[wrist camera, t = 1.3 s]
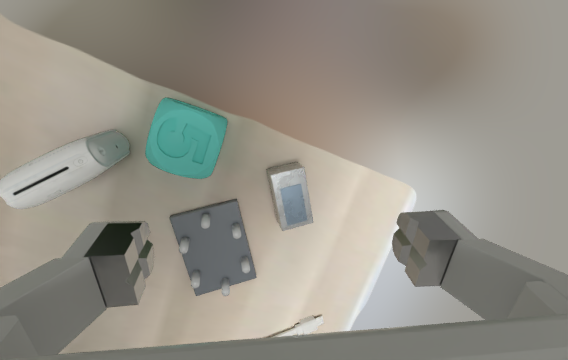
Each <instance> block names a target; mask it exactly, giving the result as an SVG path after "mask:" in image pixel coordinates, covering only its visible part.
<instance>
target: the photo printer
mask: <svg viewBox="0 0 568 360" xmlns="http://www.w3.org/2000/svg"><path fill="white" fill-rule="evenodd" d="M129 153H130V151H129V142H128V140H127V139H126V137H125V136H124V135H122V134H121V133H119V132H116V130H108V131H105V132H101V133H98V134H95V135H91V136H88V137H85V138H82V139H79V140H76V141H73V142H71V143H68V144H66V145H64V146H61V147H59V148H57V149H55V150H52V151H50V152H48V153H46V154H44V155H42V156H40V157H38V158H36V159H34V160H32V161H30V162H28V163H26V164H24V165H22V166H20V167H18V168H17V169H15V170H13V171H11V172H10V173H8V174H7V175H5V176H4V177H3V178H2V179H1V180H0V196H1V197H2V198H3V199H4V200H5V202H6V204H7V205H9V206H11V207H13V208H16V209H26V208H31V207H35V206H38V205H41V204H43V203H45V202H48V201H50V200H52V199H54V198H57V197H59V196H61V195H63V194H65V193H67V192H69V191H71V190H73V189H75V188H77V187H79V186H81V185H83V184H84V183H86V182H88V181H90V180H92V179H93V178H96V177H97V176H98V175H100V174H101V173H103V172H104V171H105V170H107V169H108V168H110V167H111V166H113V165H114V164H116V163H117V162H119V161H120V160H122V159H123V158H125V157H126V156H127V155H128V154H129Z"/></svg>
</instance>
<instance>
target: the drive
mask: <svg viewBox="0 0 568 360" xmlns="http://www.w3.org/2000/svg"><path fill="white" fill-rule="evenodd" d="M266 170H267V174H268V179H269V184H270V189H271V193H272V198H273V203H274V208H275V212H276V217H277V221H278V223H279V225H280V227H281V229H282V231H285V230H288V229H292V228H295V227H299V226H303V225H306V224H310V223H313V217H312V211H311V205H310V199H309V193H308V187H307V181H306V175H305V169H304V167H303V166H302V165H301V164H299V163H298V162H294V163H290V164H286V165H282V166H278V167H273V168H269V169H266Z"/></svg>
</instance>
